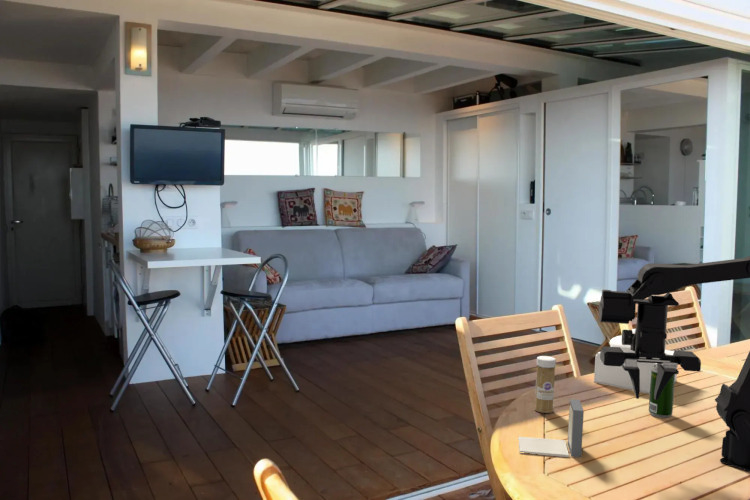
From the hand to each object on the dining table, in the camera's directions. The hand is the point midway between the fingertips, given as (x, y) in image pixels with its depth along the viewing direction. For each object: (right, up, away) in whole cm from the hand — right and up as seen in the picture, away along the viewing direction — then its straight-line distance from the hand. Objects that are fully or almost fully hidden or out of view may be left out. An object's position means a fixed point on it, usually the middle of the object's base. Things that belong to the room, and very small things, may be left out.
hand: (646, 398), depth 141 cm
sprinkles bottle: (-15, -9, +27) cm, 32 cm away
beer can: (+14, -10, +25) cm, 30 cm away
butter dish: (+18, -7, +52) cm, 55 cm away
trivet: (-21, -11, +4) cm, 24 cm away
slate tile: (-14, -12, +3) cm, 19 cm away
